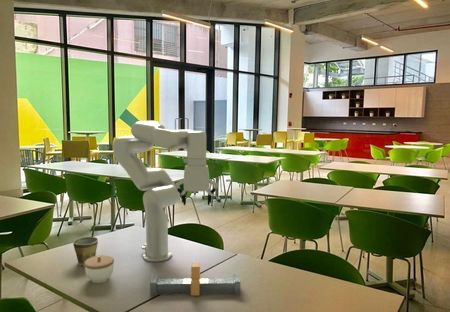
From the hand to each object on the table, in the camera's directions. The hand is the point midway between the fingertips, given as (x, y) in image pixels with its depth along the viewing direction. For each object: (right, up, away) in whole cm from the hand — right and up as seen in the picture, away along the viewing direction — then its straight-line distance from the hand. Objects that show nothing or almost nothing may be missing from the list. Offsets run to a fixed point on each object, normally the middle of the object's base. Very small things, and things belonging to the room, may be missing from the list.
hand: (196, 204), depth 147 cm
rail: (+1, -30, -13) cm, 33 cm away
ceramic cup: (-49, -27, +13) cm, 57 cm away
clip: (+1, -29, -13) cm, 32 cm away
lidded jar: (-37, -29, -4) cm, 48 cm away
